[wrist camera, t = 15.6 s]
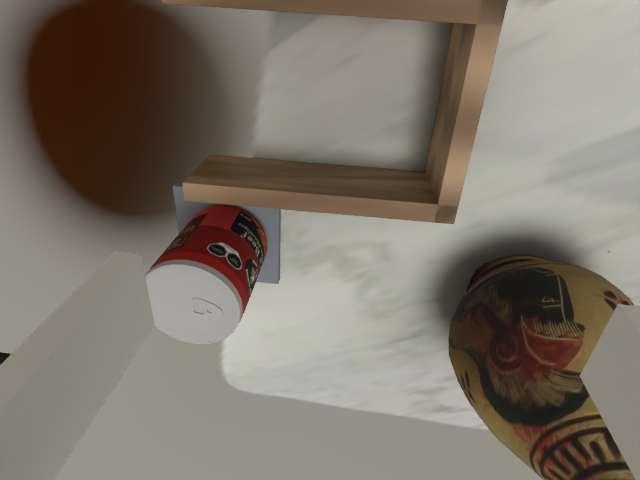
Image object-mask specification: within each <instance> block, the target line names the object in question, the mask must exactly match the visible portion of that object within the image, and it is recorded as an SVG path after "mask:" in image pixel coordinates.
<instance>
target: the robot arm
mask: <svg viewBox="0 0 640 480" xmlns="http://www.w3.org/2000/svg"><path fill="white" fill-rule="evenodd" d="M154 327H155V322H154V317H153V312H152V308H151V303H150V298H149V293H148V288H147V283H146V278H145V273H144V268H143V263H142V258H141V254H136V253H126V252H116V251H115V252H114V253H113V254H112V255H111V256H110V257H109V258H108V259H107V260H106V261H105V262H104V263H103V264H102V265H101V266H100V267H99V268H98V269H97V270H96V271H95V272H94V273H93V274H92V275H91V276H90V277H89V278H88V279H87V280H86V281H85V282H84V283H83V284H82V285H81V286H79V287H78V289H76V290H75V292H73V294H72V295H70V296H69V298H67V299H66V300H65V301H64V303H62V304H61V306H59V308H58V309H56V310H55V311H54V312H53V313H52V314H51V315H50V316H49V317H48V318H47V319H46V320H45V321H44V322H43V323H42V324H41V325H40V326H39V327H38V328H37V329H36V330H35V331H34V332H33V333H32V334H31V335H30V336H29V337H28V338H27V339H26V340H25V341H24V342H23V343H22V344H21V345H20V346H19V347H18V348H17V349H16V350H15V351H14V352H13V353H12V354H9V353H1V352H0V480H54V479H55V478H56V476H57V475H58V473H59V472H60V470H61V469H62V467H63V466H64V464H65V463H66V461H67V460H68V458H69V457H70V455H71V454H72V452H73V450H74V449H75V447H76V446H77V444H78V443H79V441H80V440H81V438H82V437H83V435H84V434H85V432H86V431H87V429H88V428H89V426H90V425H91V423H92V421H93V420H94V418H95V417H96V416H97V414H98V413H99V411H100V409H101V408H102V406H103V405H104V403H105V402H106V400H107V399H108V397H109V396H110V394H111V393H112V391H113V390H114V388H115V387H116V385H117V384H118V382H119V381H120V379H121V377H122V376H123V375H124V373H125V371H126V370H127V368H128V367H129V365H130V364H131V362H132V361H133V359H134V358H135V356H136V355H137V353H138V352H139V350H140V349H141V347H142V346H143V344H144V343H145V341H146V339H147V338H148V337H149V335H150V334H151V332H152V331H153V329H154ZM580 378H581V380H582V382H583V383H584V385H585V387H586V389H587V391H588V393H589V394H590V396H591V398H592V400H593V402H594V404H595V406H596V407H597V409H598V411H599V413H600V415H601V417H602V419H603V420H604V422H605V424H606V426H607V428H608V430H609V432H610V433H611V435H612V437H613V439H614V441H615V443H616V445H617V446H618V448H619V450H620V452H621V454H622V456H623V457H624V459H625V461H626V463H627V465H628V467H629V469H630V470H631V472H632V474H633V476H634V478H635V480H640V306H631V305H622V304H618V305H617V307H616V309H615V311H614V312H613V314H612V316H611V318H610V320H609V322H608V324H607V326H606V327H605V329H604V331H603V333H602V335H601V337H600V339H599V341H598V342H597V344H596V346H595V348H594V350H593V352H592V354H591V356H590V357H589V359H588V361H587V363H586V365H585V367H584V369H583V371H582V372H581V374H580Z"/></svg>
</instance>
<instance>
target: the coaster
mask: <svg viewBox="0 0 640 480" xmlns="http://www.w3.org/2000/svg"><path fill="white" fill-rule="evenodd" d="M173 192H174V200H175V208H176V215H177V223H178V231H179V233H180V232H181V231H182V230H183V229H184V227H185V226H186V225H187V224H188V223H189V221H190V220H191V219H192V218H193V217H194V216H195V215H196V214H197V213H198V212H200V211H201V210H204V209H206V208H209V207H212V206H217V205H228V204H217V203H205V202H194V201H184V193H183V184H182V183H180V182H177V183H176V184H175V185H173ZM229 206H234V207H237V208H240V209H242V210H244V211H246V212H248V213H249V214H251V215H252V216H253V217H255V219H256V220H257V221H258V222H259V223H260V224H261V226H262V228H263V229H264V232H265V235H266V239H267V254H266V257H265V260H264V262H263V265H262V267H261V270H260V272H259V275H258V278H257V280H256V282H264V283H274V284H278V283H279V280H280V214H281V209H274V208H263V207H251V206H240V205H229Z"/></svg>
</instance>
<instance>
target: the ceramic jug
mask: <svg viewBox="0 0 640 480" xmlns="http://www.w3.org/2000/svg"><path fill="white" fill-rule="evenodd" d="M609 253H610V251H609ZM618 304H622V305H631V306H635V305H634V304H633V303H632V301H631V300H630V299H629V298H628V297H627V296H626V295H625V294H624V293H623V292H622V291H620V290H619V289H618V288H617V287H615V286H614V285H613V284H611V283H610V282H609V281H607V280H606V279H605V278H603V277H602V276H600V275H598V274H596V273H594V272H592V271H590V270H587V269H585V268H582V267H580V266H576V265H571V264H567V263H560V262H551V261H549V260H545V259H541V258H536V257H531V256H525V255H517V256H512V257H508V258H503V259H498V260H496V261H493V262H490V263H486V264H484V265H482V266H481V267H479V268H478V269H476V272H475V274H474V275H473V277H472V278H471V281H470V283H469V286H468V288H467V291H466V294H465V295H464V297H463V298H462V300H461V302H460V304H459V306H458V308H457V310H456V312H455V314H454V316H453V318H452V321H451V324H450V332H449V356H450V360H451V363H452V366H453V369H454V371H455V374H456V377H457V379H458V382H459V384H460V386H461V388H462V390H463V391H464V393H465V396H466V397H467V399H468V401H469V403H470V404H471V406H472V407H473V408H474V409H475V411H476V412H477V414H478V415H479V417H480V418H481V419H482V420H483V422H484V423H485V424H486V426H487V427H488V428H489V430H490V431H491V432H492V433H493V434H494V435H495V436H496V438H497V439H498V440H499V441H500V442H501V443H502V444H504V445H505V446H506V447H507V448H508V449H509V450H510V451H512V452H513V453H514V454H515V455H516V456H517V457H518V458H520V459H521V460H522V461H523V462H524V463H525V464H527V465H528V466H529V467H530V468H531V469H532V470H534V471H535V472H536V473H537V474H538V475H539V476H540V477H541V478H542V479H544V480H635V478H634V476H633V474H632V472H631V470H630V469H629V467H628V465H627V463H626V461H625V459H624V457H623V456H622V454H621V452H620V450H619V448H618V446H617V445H616V443H615V441H614V439H613V437H612V435H611V433H610V432H609V430H608V428H607V426H606V424H605V422H604V420H603V419H602V417H601V415H600V413H599V411H598V409H597V407H596V406H595V404H594V402H593V400H592V398H591V396H590V394H589V393H588V391H587V389H586V387H585V385H584V383H583V382H582V380H581V378H580V374H581V372H582V371H583V369H584V367H585V365H586V363H587V361H588V359H589V357H590V356H591V354H592V352H593V350H594V348H595V346H596V344H597V342H598V341H599V339H600V337H601V335H602V333H603V331H604V329H605V327H606V326H607V324H608V322H609V320H610V318H611V316H612V314H613V312H614V311H615V309H616V307H617V305H618Z"/></svg>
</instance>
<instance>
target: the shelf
mask: <svg viewBox="0 0 640 480" xmlns="http://www.w3.org/2000/svg"><path fill="white" fill-rule="evenodd" d="M507 2H508V0H162V4H176V5H191V6H206V7H222V8H236V9H252V10H268V11H282V12H297V13H313V14H328V15H343V16H358V17H374V18H389V19H404V20H419V21H435V22H450V23H453V28H452V34H451V39H450V44H449V49H448V55H447V60H446V65H445V70H444V76H443V81H442V86H441V92H440V97H439V102H438V107H437V113H436V118H435V123H434V128H433V134H432V139H431V144H430V149H429V155H428V160H427V165H426V171H425V172H416V171H404V170H392V169H379V168H367V167H355V166H343V165H330V164H318V163H306V162H294V161H282V160H269V159H257V158H244V157H232V156H219V155H210V156H209V157H208V158H207V159H206V160H205V161H204V162H203V163H202V164H201V165H200V166H199V167H198V168H197V169H196V170H195V171H194V172H193V173H192V174H191V175H190V176H189V177H188V178H187V179H186V180H185V181H184V182H183V183H182V184H183V193H184V201H194V202H205V203H217V204H228V205H240V206H251V207H263V208H274V209H286V210H297V211H309V212H320V213H332V214H343V215H355V216H366V217H378V218H389V219H401V220H412V221H424V222H435V223H447V224H454V222H455V218H456V213H457V209H458V205H459V201H460V197H461V193H462V189H463V184H464V180H465V176H466V172H467V168H468V164H469V160H470V155H471V151H472V147H473V143H474V139H475V135H476V130H477V126H478V122H479V118H480V114H481V110H482V106H483V101H484V97H485V93H486V89H487V85H488V81H489V77H490V72H491V68H492V64H493V60H494V56H495V52H496V48H497V43H498V39H499V35H500V31H501V27H502V23H503V19H504V14H505V10H506V6H507Z"/></svg>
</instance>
